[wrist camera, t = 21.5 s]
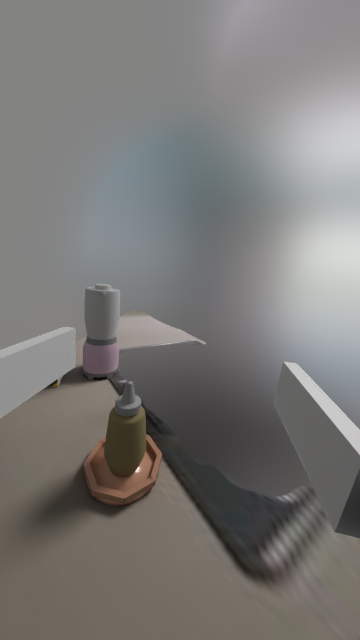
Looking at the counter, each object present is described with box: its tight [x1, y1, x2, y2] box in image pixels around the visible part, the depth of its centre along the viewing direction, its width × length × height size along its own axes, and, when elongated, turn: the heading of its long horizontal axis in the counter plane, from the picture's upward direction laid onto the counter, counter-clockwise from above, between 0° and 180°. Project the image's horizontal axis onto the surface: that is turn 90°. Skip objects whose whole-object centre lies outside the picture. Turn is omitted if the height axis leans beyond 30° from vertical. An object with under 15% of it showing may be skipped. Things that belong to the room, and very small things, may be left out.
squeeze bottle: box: [104, 381, 146, 477], centre depth 40 cm, size 8×8×18 cm
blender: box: [83, 284, 120, 380], centre depth 75 cm, size 16×12×32 cm
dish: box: [84, 435, 162, 506], centre depth 42 cm, size 14×14×2 cm
